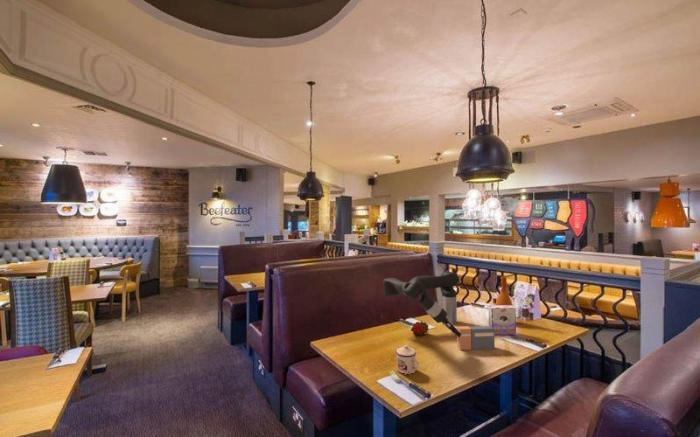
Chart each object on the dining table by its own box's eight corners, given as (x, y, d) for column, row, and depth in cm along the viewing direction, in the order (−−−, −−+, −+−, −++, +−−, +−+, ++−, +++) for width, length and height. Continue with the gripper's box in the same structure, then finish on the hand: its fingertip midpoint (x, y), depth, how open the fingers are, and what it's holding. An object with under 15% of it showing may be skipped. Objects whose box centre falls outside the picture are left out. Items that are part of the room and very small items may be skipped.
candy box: (512, 331, 195) (512, 304, 194) (516, 335, 189) (516, 307, 189) (488, 331, 196) (488, 304, 196) (491, 335, 190) (491, 307, 190)
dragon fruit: (430, 336, 195) (412, 341, 192) (423, 324, 201) (406, 329, 198) (433, 328, 189) (415, 333, 186) (426, 316, 196) (408, 321, 192)
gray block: (471, 349, 171) (471, 329, 171) (468, 346, 175) (468, 326, 175) (494, 349, 172) (494, 328, 171) (491, 345, 176) (490, 325, 175)
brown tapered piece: (515, 324, 207) (515, 277, 206) (500, 324, 207) (499, 278, 206) (508, 319, 216) (507, 274, 216) (493, 319, 217) (492, 275, 216)
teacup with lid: (392, 369, 152) (391, 345, 152) (405, 363, 158) (405, 340, 157) (411, 379, 143) (411, 353, 142) (425, 373, 148) (424, 348, 148)
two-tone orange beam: (460, 349, 171) (459, 329, 171) (457, 346, 175) (457, 326, 175) (471, 349, 171) (471, 329, 171) (468, 346, 175) (468, 326, 175)
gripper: (427, 312, 179) (447, 332, 179) (434, 321, 165) (456, 343, 165) (437, 302, 179) (457, 323, 179) (445, 310, 164) (467, 332, 165)
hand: (457, 332), depth 172 cm, fingers open, 8 cm apart
